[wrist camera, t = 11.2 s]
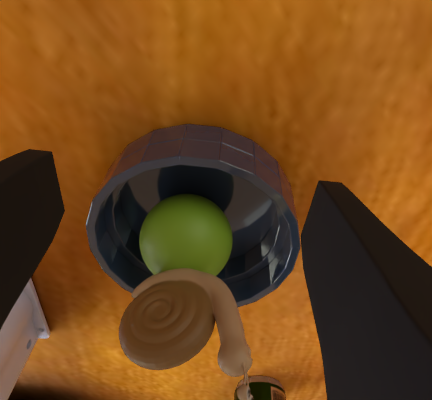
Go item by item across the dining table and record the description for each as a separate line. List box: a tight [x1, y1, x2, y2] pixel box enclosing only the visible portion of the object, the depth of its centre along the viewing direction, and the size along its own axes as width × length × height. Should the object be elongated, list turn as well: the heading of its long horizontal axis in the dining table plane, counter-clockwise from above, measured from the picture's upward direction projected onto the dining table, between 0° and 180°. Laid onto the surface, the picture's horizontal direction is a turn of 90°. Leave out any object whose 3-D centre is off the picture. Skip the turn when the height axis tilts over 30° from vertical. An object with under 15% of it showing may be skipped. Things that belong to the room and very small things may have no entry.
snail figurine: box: [119, 194, 253, 400], centre depth 18 cm, size 5×6×12 cm
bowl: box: [86, 124, 301, 307], centre depth 22 cm, size 12×12×4 cm
